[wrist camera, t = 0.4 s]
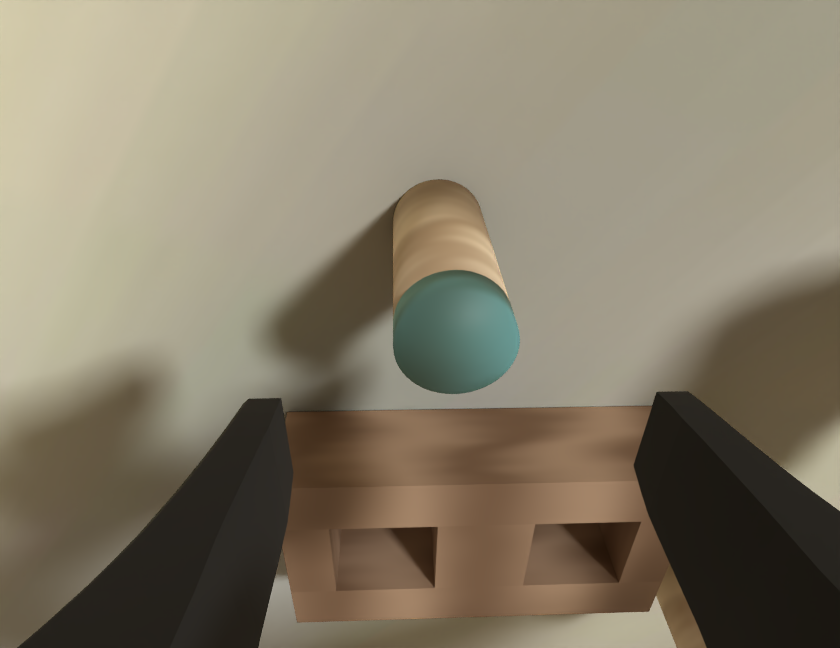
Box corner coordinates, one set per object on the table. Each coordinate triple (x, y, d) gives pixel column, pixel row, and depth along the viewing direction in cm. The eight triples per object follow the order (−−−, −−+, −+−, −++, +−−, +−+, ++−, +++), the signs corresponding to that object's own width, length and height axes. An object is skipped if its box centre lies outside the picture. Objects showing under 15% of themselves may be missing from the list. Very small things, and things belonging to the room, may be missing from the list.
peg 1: (485, 179, 19) (527, 291, 13) (478, 261, 20) (512, 392, 15) (392, 179, 18) (392, 292, 13) (393, 262, 20) (394, 395, 14)
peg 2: (705, 533, 30) (780, 677, 24) (689, 567, 32) (755, 709, 26) (648, 534, 30) (710, 680, 24) (635, 568, 31) (690, 711, 26)
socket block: (664, 405, 25) (706, 479, 21) (620, 535, 30) (648, 611, 26) (287, 412, 24) (270, 488, 21) (308, 543, 29) (297, 622, 26)
